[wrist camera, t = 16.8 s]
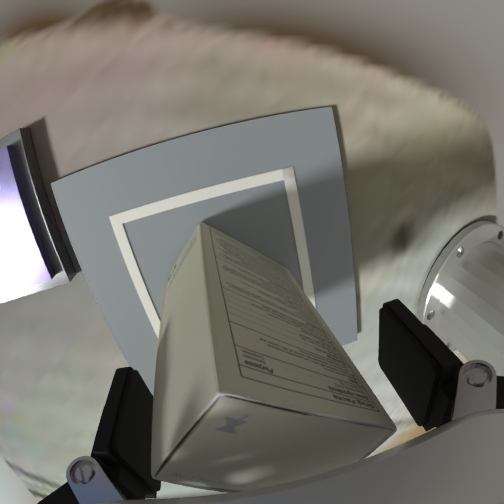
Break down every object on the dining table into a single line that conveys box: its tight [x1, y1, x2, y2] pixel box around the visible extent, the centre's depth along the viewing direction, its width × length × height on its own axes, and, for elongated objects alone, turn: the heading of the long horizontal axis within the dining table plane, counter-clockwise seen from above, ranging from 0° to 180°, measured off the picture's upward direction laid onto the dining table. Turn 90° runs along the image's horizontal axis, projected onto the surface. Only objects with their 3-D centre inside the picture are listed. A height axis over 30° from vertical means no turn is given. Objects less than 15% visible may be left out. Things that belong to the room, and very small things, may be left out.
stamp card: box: [51, 107, 357, 395], centre depth 18 cm, size 16×16×1 cm
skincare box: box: [151, 222, 397, 493], centre depth 12 cm, size 6×4×12 cm
